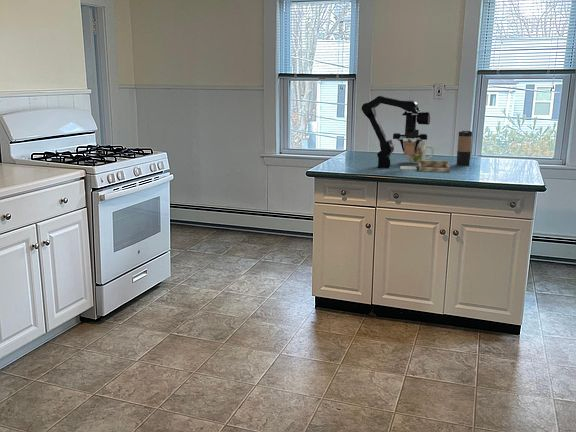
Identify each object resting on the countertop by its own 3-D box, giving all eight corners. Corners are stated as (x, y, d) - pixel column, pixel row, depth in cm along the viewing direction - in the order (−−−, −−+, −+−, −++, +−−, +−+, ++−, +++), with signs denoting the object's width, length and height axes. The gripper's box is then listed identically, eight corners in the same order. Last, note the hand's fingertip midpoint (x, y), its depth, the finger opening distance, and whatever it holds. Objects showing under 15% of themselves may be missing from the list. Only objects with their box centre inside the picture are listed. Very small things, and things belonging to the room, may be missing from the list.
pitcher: (433, 165, 335) (435, 142, 332) (402, 164, 338) (403, 141, 334) (432, 162, 346) (433, 139, 342) (402, 161, 348) (403, 139, 345)
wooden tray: (419, 172, 314) (419, 165, 313) (418, 167, 330) (418, 160, 329) (449, 173, 311) (450, 165, 310) (447, 167, 327) (447, 161, 326)
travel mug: (470, 166, 330) (473, 132, 325) (456, 166, 332) (459, 132, 326) (468, 164, 337) (471, 131, 332) (455, 164, 339) (458, 130, 334)
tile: (400, 170, 319) (400, 168, 319) (400, 167, 328) (400, 165, 328) (416, 170, 318) (416, 169, 318) (416, 168, 326) (416, 166, 326)
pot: (402, 154, 318) (403, 139, 316) (402, 153, 324) (403, 137, 322) (415, 155, 317) (416, 139, 315) (414, 153, 323) (415, 138, 321)
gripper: (393, 124, 310) (392, 153, 314) (428, 125, 307) (426, 154, 311) (393, 122, 321) (392, 150, 325) (427, 123, 318) (425, 151, 322)
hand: (409, 151), depth 320 cm, fingers closed on pot, 6 cm apart
